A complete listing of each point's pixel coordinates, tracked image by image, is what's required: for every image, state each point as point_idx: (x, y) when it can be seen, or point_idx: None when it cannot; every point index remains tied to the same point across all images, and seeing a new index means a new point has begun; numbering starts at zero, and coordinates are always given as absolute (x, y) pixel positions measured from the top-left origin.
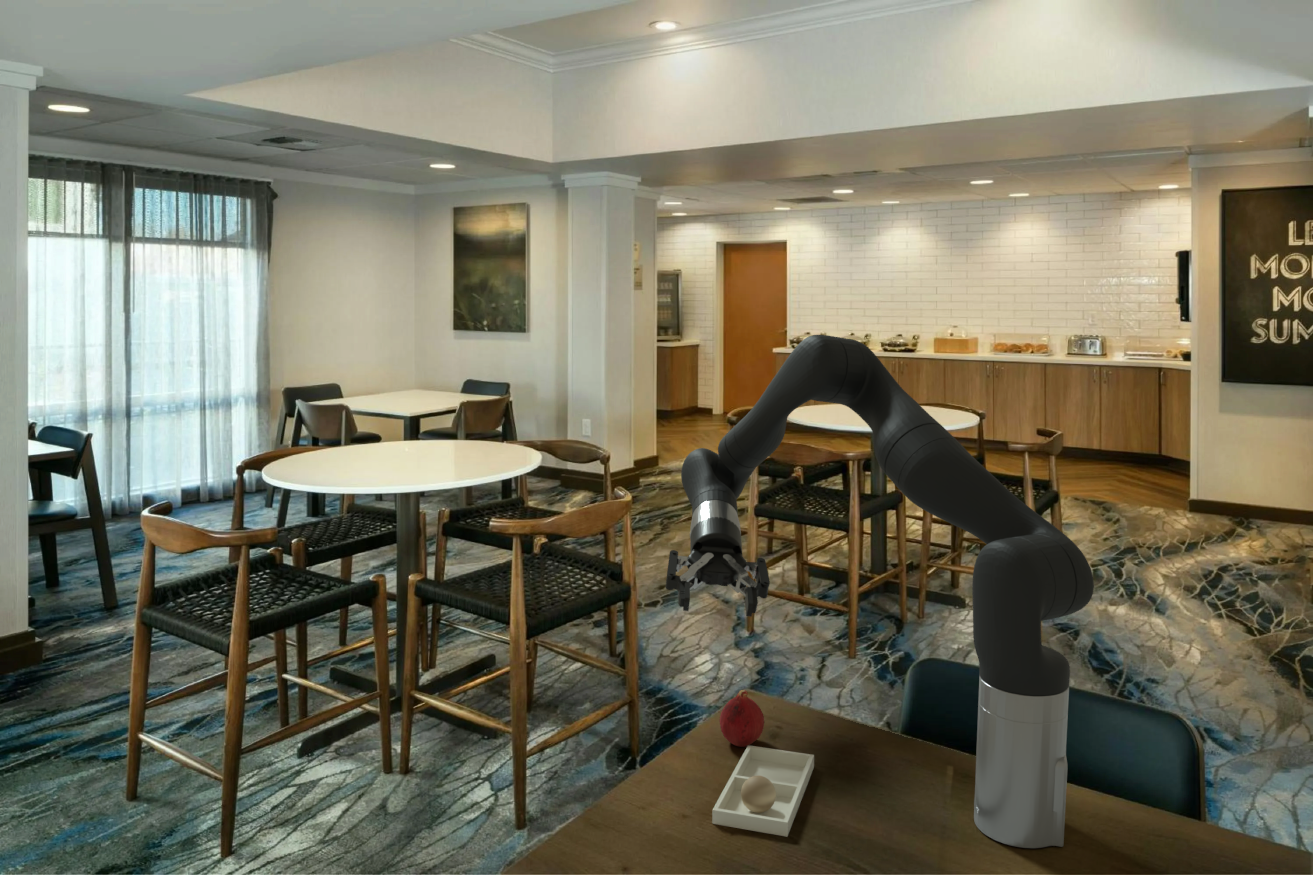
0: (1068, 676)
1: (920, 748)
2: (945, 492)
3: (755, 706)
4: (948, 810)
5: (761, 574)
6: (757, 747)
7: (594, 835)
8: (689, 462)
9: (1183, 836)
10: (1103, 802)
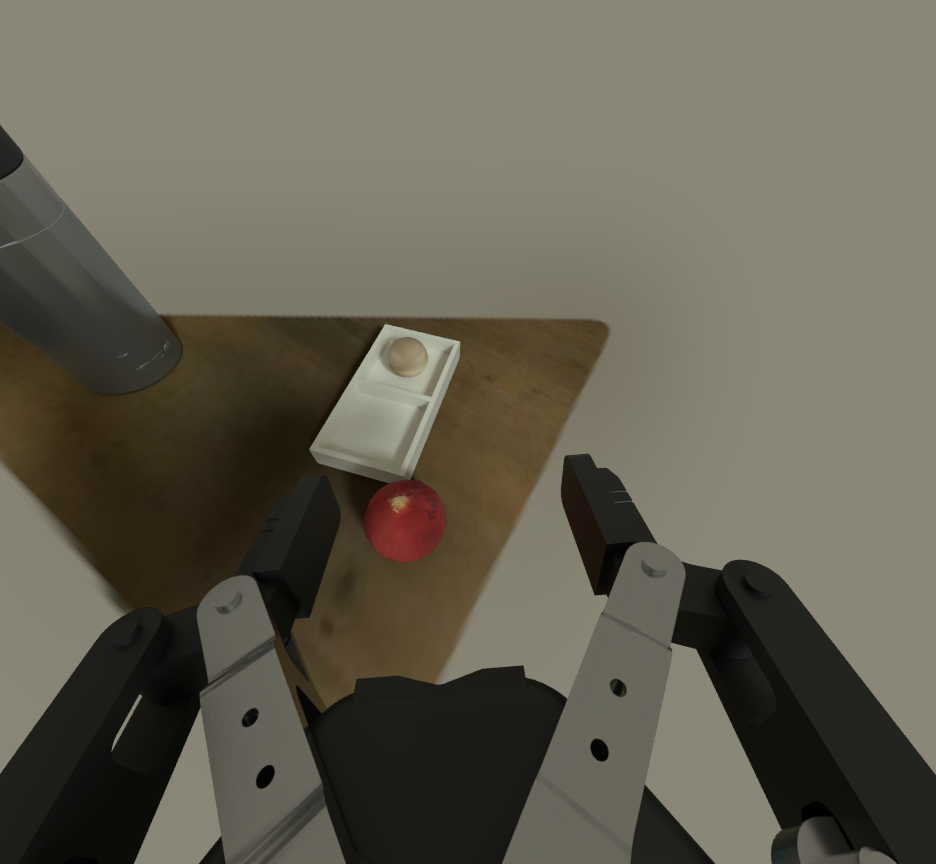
0: None
1: (103, 542)
2: None
3: (377, 498)
4: (188, 387)
5: (86, 725)
6: (390, 469)
7: (572, 351)
8: None
9: None
10: None
